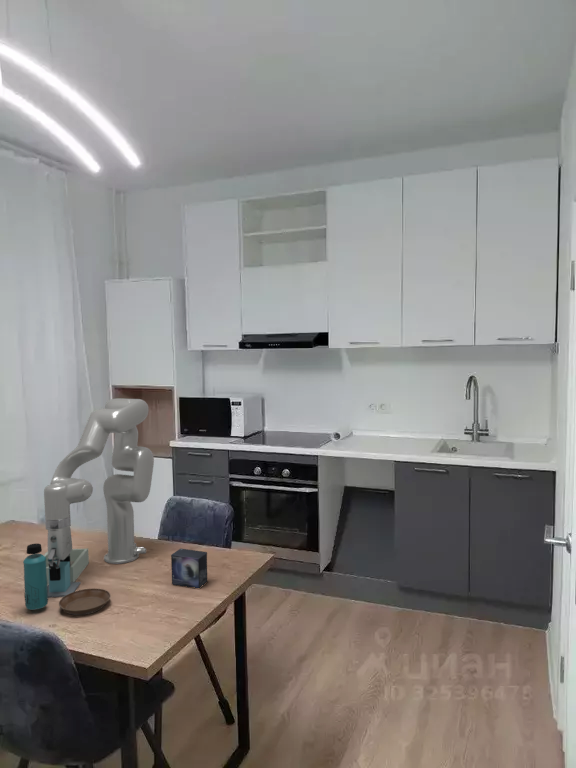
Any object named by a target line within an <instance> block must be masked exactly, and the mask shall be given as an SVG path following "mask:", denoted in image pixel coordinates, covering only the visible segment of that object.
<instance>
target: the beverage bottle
mask: <svg viewBox="0 0 576 768" xmlns="http://www.w3.org/2000/svg"><path fill="white" fill-rule="evenodd" d="M42 550H43V549H42V544H41V543H36V542H35V543H31V544H28V545H27V546H26V554H28V555H27V556H26V557H25V558H24V559H23V560H22V561H23V582H24V584H23V585H24V592H23V593H24V595H23V596H24V604H25V605H24V606H25V608H26V609H27V610H31V611H32V610H39V609H42V608H44V607H46V606H47V605H48V603H49V598H48V591H47V588H48V587H47V586H48V585H49V584H48V581H47V580H48V579H47V573H46V557H45V556H44V554H42V553H41V552H42Z"/></svg>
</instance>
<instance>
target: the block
mask: <svg viewBox="0 0 576 768" xmlns="http://www.w3.org/2000/svg"><path fill="white" fill-rule="evenodd" d="M55 563H56V564H57V562H55ZM59 568H60V573H61V579H60V580H59V581H50V572H49V584H48V585H49V592H66V590H67V589H68V588H69V586H70V561H68V562H60V564H59Z"/></svg>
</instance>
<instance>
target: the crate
mask: <svg viewBox="0 0 576 768" xmlns="http://www.w3.org/2000/svg"><path fill="white" fill-rule="evenodd" d="M43 555H44V556H45V557H46V573H47V579H48V580H47V581H48V584H47V585H49V565H48V564H49V562H48V550H47V551H46V552H45V553H44V554H43ZM56 558H58V557H56ZM54 562H57V561H54ZM89 563H90V559H89V548H72V551H71V553H70V582H77V579H78V578H79V577H80V575H81V574H82V573H83V571H84V570H85V568H86V567H87V566H88V565H89Z"/></svg>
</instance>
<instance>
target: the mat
mask: <svg viewBox="0 0 576 768" xmlns="http://www.w3.org/2000/svg"><path fill="white" fill-rule="evenodd" d="M81 583H82V582H81V581H75V582H70V586H69V588H68V589H67V590H66V592H49V584H47V587H48V588H47V591H48V599H49V598H63V597H64V596H66V595H68V594H70V593H72V592H75V591H77V589H79V587H80V585H81Z"/></svg>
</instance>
